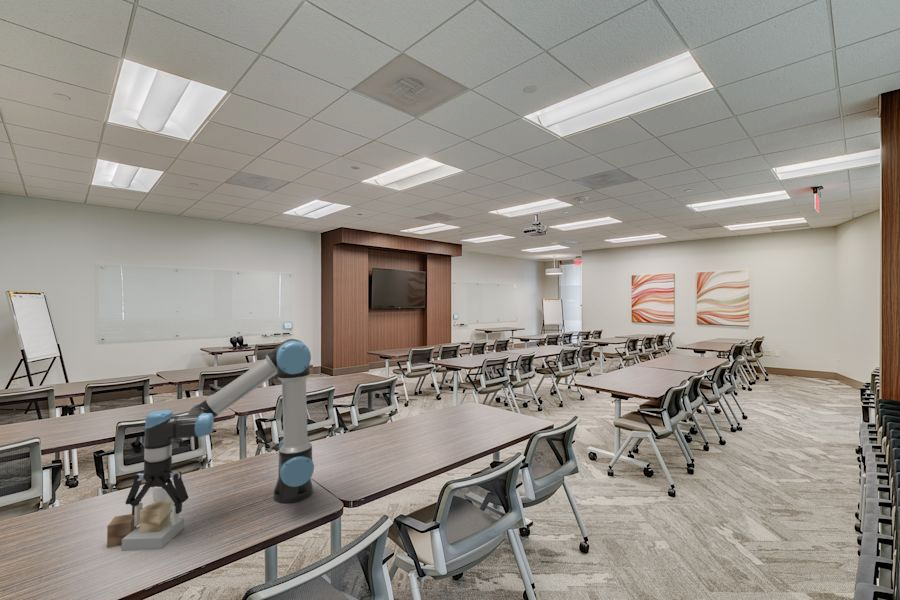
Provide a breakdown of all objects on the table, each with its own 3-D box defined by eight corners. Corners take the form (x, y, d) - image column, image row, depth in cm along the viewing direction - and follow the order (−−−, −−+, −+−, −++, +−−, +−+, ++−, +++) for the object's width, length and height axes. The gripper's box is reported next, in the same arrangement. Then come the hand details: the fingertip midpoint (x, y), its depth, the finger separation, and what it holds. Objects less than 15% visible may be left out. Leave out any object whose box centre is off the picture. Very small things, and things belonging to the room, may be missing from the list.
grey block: (183, 529, 137) (184, 517, 137) (161, 550, 125) (161, 537, 125) (148, 530, 136) (148, 518, 136) (121, 552, 124) (121, 539, 124)
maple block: (170, 521, 135) (170, 501, 135) (159, 531, 129) (159, 510, 129) (151, 522, 134) (152, 502, 134) (139, 532, 128) (140, 511, 128)
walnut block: (136, 533, 134) (136, 513, 134) (130, 543, 128) (130, 522, 128) (114, 537, 131) (115, 516, 131) (107, 547, 126) (107, 525, 126)
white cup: (164, 515, 145) (164, 488, 145) (146, 513, 147) (147, 486, 147) (182, 505, 153) (183, 479, 153) (165, 503, 154) (166, 477, 154)
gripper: (201, 453, 137) (199, 516, 136) (129, 454, 135) (127, 518, 134) (188, 461, 129) (187, 528, 129) (112, 463, 127) (110, 531, 127)
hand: (156, 523), depth 132 cm, fingers open, 11 cm apart
